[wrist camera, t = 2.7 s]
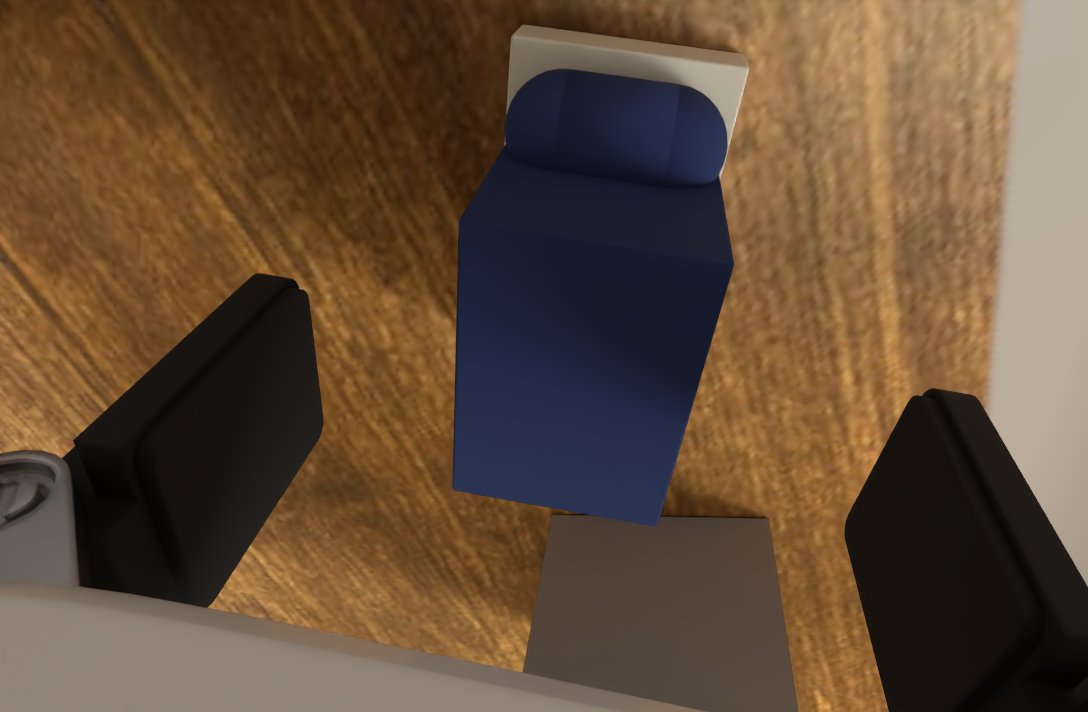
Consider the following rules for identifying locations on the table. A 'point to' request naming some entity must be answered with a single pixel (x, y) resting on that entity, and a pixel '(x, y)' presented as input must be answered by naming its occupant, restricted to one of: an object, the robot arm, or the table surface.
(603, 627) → the perfume bottle
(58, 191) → the table surface
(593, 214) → the high-top sneaker
